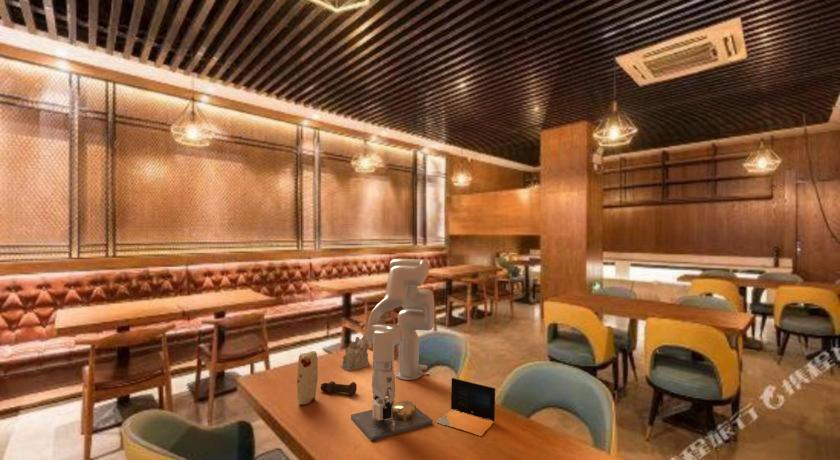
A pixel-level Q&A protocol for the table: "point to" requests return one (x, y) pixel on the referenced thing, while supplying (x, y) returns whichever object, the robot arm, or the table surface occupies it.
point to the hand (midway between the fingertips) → (382, 413)
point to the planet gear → (378, 409)
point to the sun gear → (403, 410)
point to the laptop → (471, 400)
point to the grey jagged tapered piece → (356, 355)
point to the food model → (307, 377)
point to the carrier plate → (388, 424)
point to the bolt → (339, 388)
